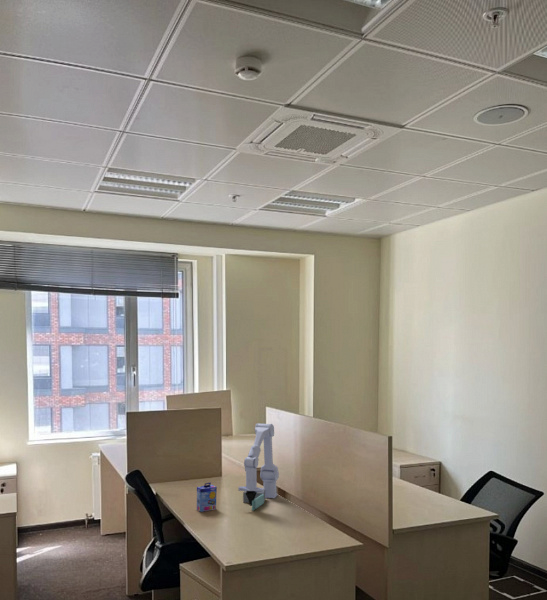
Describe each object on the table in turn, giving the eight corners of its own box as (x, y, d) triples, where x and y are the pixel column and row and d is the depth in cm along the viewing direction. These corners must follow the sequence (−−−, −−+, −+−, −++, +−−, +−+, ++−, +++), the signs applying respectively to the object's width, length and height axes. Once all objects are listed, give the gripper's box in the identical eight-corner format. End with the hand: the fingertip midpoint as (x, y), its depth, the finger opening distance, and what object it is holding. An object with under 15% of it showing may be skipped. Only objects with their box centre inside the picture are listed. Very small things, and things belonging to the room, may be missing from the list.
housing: (246, 498, 338) (246, 487, 338) (265, 499, 336) (265, 488, 336) (243, 502, 330) (243, 491, 330) (262, 503, 328) (262, 492, 328)
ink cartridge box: (200, 512, 312) (200, 484, 313) (195, 509, 316) (196, 482, 317) (217, 509, 317) (217, 482, 318) (212, 507, 321) (212, 480, 322)
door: (251, 510, 313) (251, 500, 314) (263, 502, 328) (263, 493, 328) (254, 510, 313) (254, 501, 313) (265, 503, 327) (265, 493, 328)
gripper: (235, 480, 316) (236, 506, 315) (260, 482, 311) (260, 508, 310) (241, 477, 322) (241, 502, 321) (265, 479, 317) (266, 505, 316)
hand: (251, 505), depth 316 cm, fingers closed
